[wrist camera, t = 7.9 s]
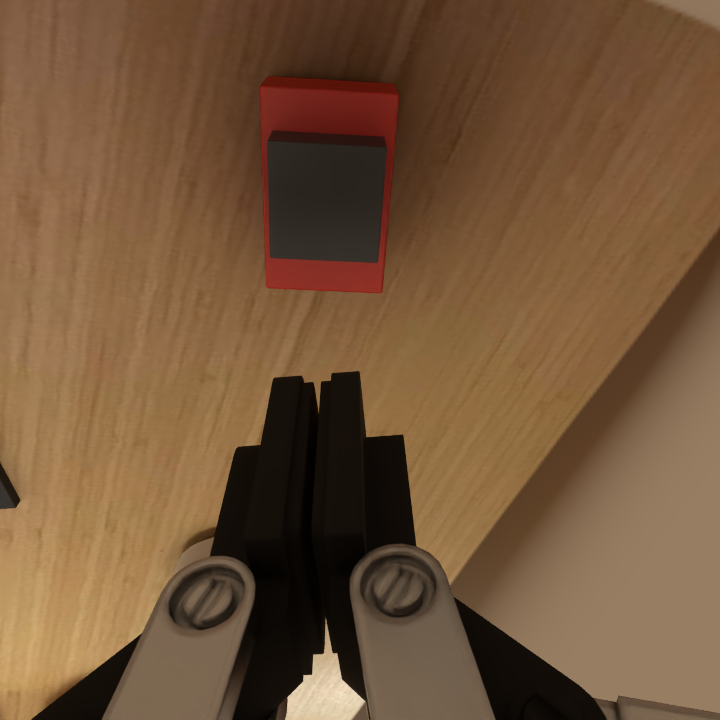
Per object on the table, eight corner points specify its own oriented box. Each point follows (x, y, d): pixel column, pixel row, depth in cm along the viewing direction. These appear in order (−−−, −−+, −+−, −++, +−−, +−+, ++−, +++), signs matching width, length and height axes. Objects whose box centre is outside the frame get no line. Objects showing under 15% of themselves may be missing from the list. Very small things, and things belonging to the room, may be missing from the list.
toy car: (393, 80, 24) (269, 72, 24) (402, 101, 20) (253, 92, 20) (379, 263, 28) (273, 258, 28) (384, 312, 24) (260, 306, 24)
